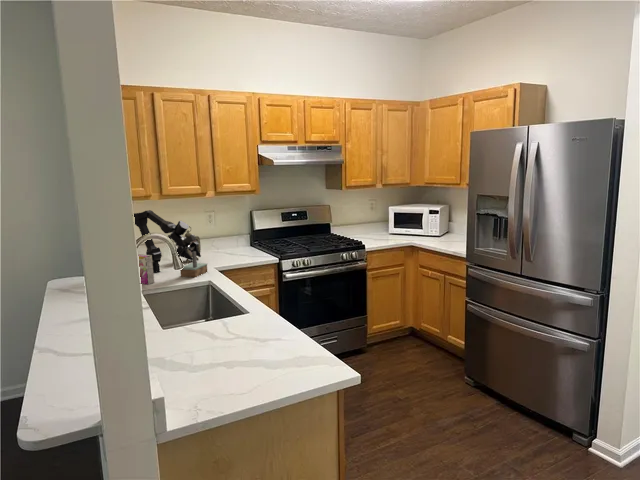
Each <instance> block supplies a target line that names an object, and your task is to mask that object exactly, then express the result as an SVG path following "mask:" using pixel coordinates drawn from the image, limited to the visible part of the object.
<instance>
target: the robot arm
mask: <svg viewBox="0 0 640 480" xmlns="http://www.w3.org/2000/svg"><path fill="white" fill-rule="evenodd" d="M133 214H134V217H135V224H134V225H135V226H137V227H138V229H139V231H140V235H141V236H143V235H145V234H148V233H150V234H151V232H150V230H149V228H148V227H149V226H148V220H150V221H152V222H153V223H155V224H156V225H157V226H159V229H160V230H161V231H162V232H163V233H164V234H167V238H168V237H169V238H170V240H172V241H173V242H174V243H175V246H176V247H177V248H176V249H177V252H178V254H179V255H178V257H180V256H181V258H183V259H188V260H189V261H193V259H192V257H191V256H190V255H189V253H188V252H187V250H188V249H189V250H190V251H191V252H196V255H197V256H196V257H197V258H201V257H202V255H201V252H200V253H199V250H198V246H199V243H198V242H192V241H194V240H196V236H197V235H195V234H193V233H191V234H192V235H190V236H189V237H187V238H186V237H184V235H185V234H186V233H187V230H188V229H189V228H190V227H189V224H188V223H186V222H184V221H182V220H179V221H178V222H177V224H175V223H174V222H171V221H168V220H166V219H164V218H162V217H161V216H159V215H158V214H157V213H155V212H154V211H153V210H150V209H149V210H145V211H141V212H136V213H133ZM191 242H192V243H191ZM144 244H145V247H146V251H145V252H146V253H145V255H152V261H153V273H154V274H156V273H161V268H160V267H161V266H160V264H159V263H160V262H161V259H162V251H161V249H160V247H157V246H156V245H155V243H154V240H153V238H152V239H151V240H147V241H146V242H144ZM190 244H191V245H190ZM178 246H179V247H178Z"/></svg>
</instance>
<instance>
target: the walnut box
mask: <svg viewBox="0 0 640 480" xmlns="http://www.w3.org/2000/svg"><path fill="white" fill-rule="evenodd" d="M179 272H180V277H181V278H194V277H196V278H198V277H200V276H202V275H204V274H207V273H208V264H207V265H206V266H203V267H201V268H199V269H196V270H184V269H182V270H180V269H179ZM206 272H207V273H206ZM201 274H202V275H201ZM199 275H200V276H199ZM197 276H198V277H197Z"/></svg>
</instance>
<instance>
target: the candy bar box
mask: <svg viewBox="0 0 640 480" xmlns="http://www.w3.org/2000/svg"><path fill="white" fill-rule="evenodd" d="M137 254H138V256H139V267H140V277H141V283H143V285H152V284H155V276H154V275H155V273H153V261H152V255H146V254H144V253H143V254H142V253H137ZM141 283H140V284H141ZM151 283H152V284H151Z"/></svg>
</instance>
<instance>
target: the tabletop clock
mask: <svg viewBox="0 0 640 480" xmlns="http://www.w3.org/2000/svg"><path fill="white" fill-rule="evenodd" d="M188 226H189V225H188ZM189 228H190V230H188V229H187V231H186V232H185V233H184V235H183V237H186V238H187V237H189V236H190V235H192V234H193V233H191V231H192V227H191V226H189ZM195 236H196V240H194V241H192V242H198V243H199V246H198V250H199V253H200V254H201V250H202V249H201V239H200V237H199V236H198V235H195ZM192 242H191V243H192ZM190 245H191V244H190ZM178 247H179V246H177V248H178ZM187 252H188V253H189V255H190V256H191V257H192V252H191V251H190V250H189V249H188V250H187ZM179 257H181V256H179ZM181 258H182V257H181ZM185 259H186V260H185V261H186V263H187V264H190V260H189V259H187V258H185ZM196 259H197V261H199V259H200V257H198V256H197V255H196Z"/></svg>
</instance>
